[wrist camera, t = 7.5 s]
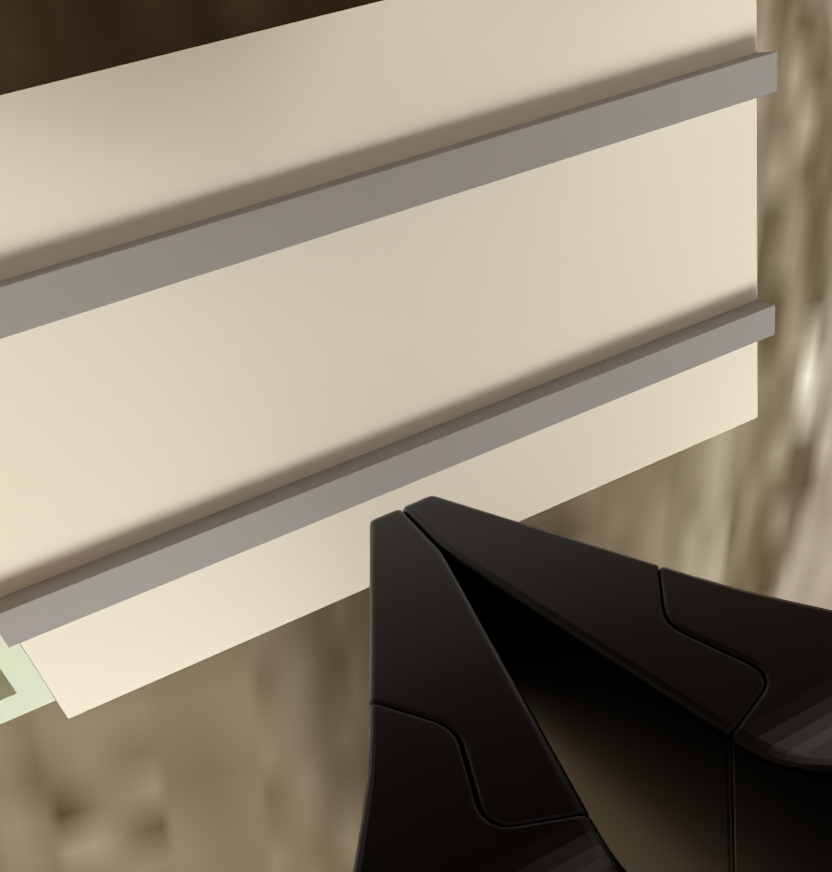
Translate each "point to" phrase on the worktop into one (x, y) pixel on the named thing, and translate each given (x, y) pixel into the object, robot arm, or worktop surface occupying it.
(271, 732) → the worktop surface
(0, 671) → the tray
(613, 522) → the worktop surface
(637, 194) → the slot board
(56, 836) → the worktop surface
